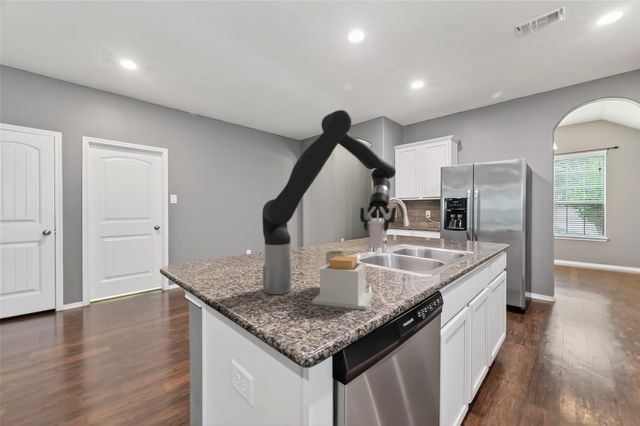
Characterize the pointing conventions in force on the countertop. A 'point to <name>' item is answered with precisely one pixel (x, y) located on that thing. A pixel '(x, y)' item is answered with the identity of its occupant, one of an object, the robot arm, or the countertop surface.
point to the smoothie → (376, 232)
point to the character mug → (333, 255)
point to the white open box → (343, 288)
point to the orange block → (343, 262)
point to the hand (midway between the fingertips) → (375, 229)
